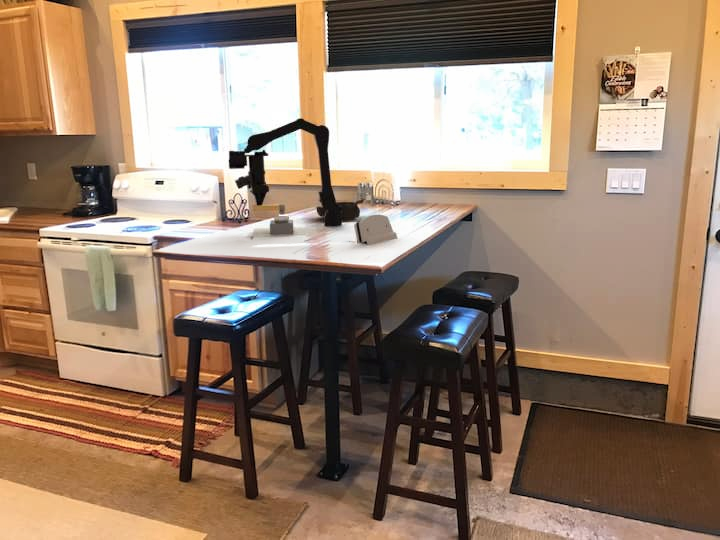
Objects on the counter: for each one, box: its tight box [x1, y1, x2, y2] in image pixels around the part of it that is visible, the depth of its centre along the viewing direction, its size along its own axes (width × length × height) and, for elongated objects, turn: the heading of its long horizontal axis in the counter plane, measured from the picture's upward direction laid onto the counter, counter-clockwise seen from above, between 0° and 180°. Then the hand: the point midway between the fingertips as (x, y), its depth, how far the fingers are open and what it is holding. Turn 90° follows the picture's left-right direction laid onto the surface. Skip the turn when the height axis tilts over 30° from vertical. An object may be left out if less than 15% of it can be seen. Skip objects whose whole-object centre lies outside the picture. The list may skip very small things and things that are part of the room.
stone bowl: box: [309, 197, 366, 222], centre depth 260 cm, size 25×25×9 cm
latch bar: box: [252, 203, 286, 212], centre depth 229 cm, size 12×3×2 cm, turn 96°
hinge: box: [353, 214, 398, 246], centre depth 210 cm, size 17×5×10 cm, turn 139°
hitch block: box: [250, 209, 318, 240], centre depth 224 cm, size 24×17×8 cm
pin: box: [273, 213, 290, 223], centre depth 222 cm, size 6×6×6 cm
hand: (259, 209), depth 232 cm, fingers closed
